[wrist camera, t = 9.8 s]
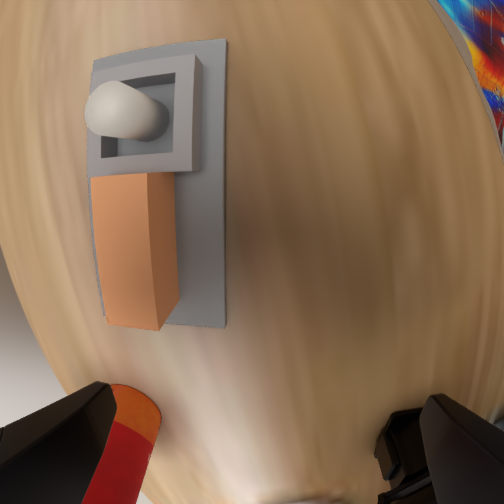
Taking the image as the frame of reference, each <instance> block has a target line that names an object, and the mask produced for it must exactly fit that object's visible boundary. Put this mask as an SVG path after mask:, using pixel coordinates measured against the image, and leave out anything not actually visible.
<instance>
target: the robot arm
mask: <svg viewBox="0 0 504 504" xmlns="http://www.w3.org/2000/svg"><path fill="white" fill-rule="evenodd" d="M116 412H117V403H116V400H115V397H114V394H113V391H112V388H111V386H110V385H109V384H108V383H104V382H100V381H96V382H94V383H92V384H90V385H88V386H86V387H84V388H82V389H80V390H78V391H76V392H74V393H72V394H70V395H68V396H66V397H64V398H62V399H60V400H59V401H56V402H54V403H52V404H50V405H48V406H46V407H44V408H42V409H40V410H38V411H36V412H34V413H32V414H30V415H27V416H25V417H23V418H21V419H19V420H17V421H15V422H13V423H11V424H8V425H6V426H5V427H2V428H0V504H82V502H83V499H84V497H85V494H86V492H87V490H88V487H89V485H90V482H91V480H92V478H93V475H94V473H95V471H96V469H97V466H98V464H99V462H100V459H101V457H102V455H103V452H104V449H105V447H106V443H107V440H108V437H109V434H110V430H111V427H112V424H113V421H114V418H115V415H116ZM374 456H375V458H378V461H379V465H380V468H381V472H382V476H383V479H384V480H385V481H388V480H389V482H390V486H391V490H390V491H388V492H385V493H384V492H383V493H381V494H379V495H378V503H377V504H504V431H502V430H500V429H499V428H497V427H496V426H494V425H492V424H491V423H489V422H488V421H486V420H484V419H483V418H481V417H480V416H478V415H476V414H475V413H473V412H472V411H470V410H468V409H467V408H465V407H464V406H462V405H460V404H459V403H457V402H456V401H454V400H453V399H451V398H449V397H448V396H446V395H445V394H443V393H439V394H433V395H430V396H429V397H428V399H427V401H426V403H425V406H424V408H422V409H416V410H410V411H403V412H396V413H394V414H392V415H391V417H390V419H389V421H388V424H387V426H386V428H385V431H384V432H383V434H382V435H381V438H380V440H379V442H378V444H377V446H376V448H375V452H374Z"/></svg>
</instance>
